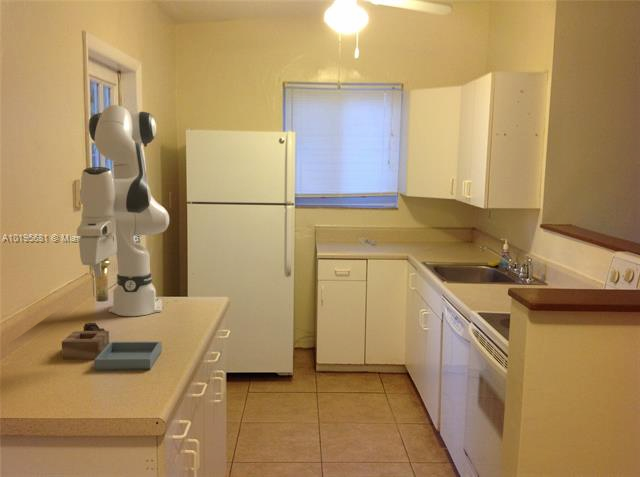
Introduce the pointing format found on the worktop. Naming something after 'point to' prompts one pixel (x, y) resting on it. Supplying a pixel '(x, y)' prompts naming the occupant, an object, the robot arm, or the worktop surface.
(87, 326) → the bolt
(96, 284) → the pin
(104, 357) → the tray
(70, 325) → the worktop surface
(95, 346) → the holder
